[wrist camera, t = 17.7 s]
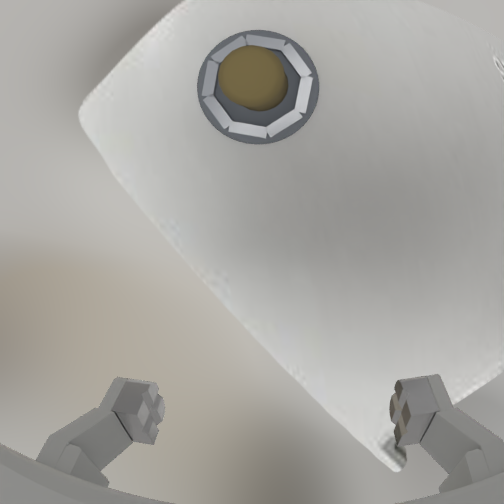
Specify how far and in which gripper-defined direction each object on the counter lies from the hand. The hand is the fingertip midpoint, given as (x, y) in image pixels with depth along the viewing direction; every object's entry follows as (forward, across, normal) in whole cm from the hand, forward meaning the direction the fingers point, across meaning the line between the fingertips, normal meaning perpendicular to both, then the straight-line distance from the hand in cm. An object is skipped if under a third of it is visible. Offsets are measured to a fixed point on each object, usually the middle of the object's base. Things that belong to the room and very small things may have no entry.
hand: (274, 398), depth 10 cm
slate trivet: (+29, -2, +12) cm, 31 cm away
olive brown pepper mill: (+29, -2, +12) cm, 31 cm away
